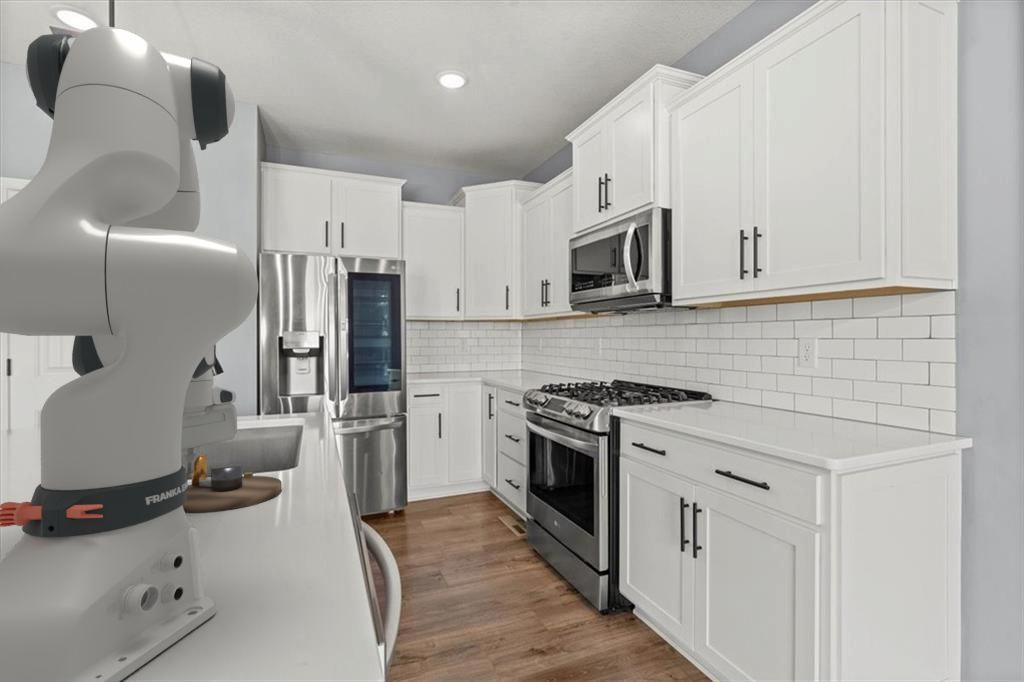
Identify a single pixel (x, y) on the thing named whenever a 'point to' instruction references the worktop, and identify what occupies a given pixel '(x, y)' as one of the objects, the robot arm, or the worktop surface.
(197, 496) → the dial plate
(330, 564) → the worktop surface
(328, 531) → the worktop surface
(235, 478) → the dial pointer
